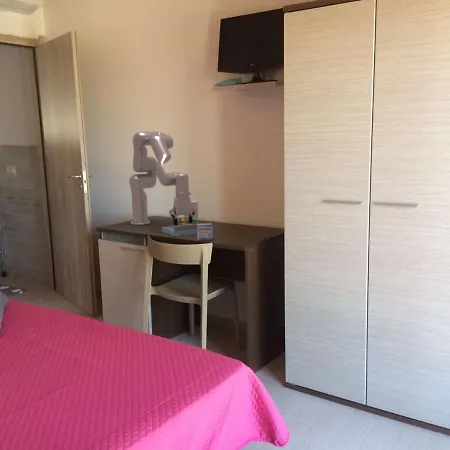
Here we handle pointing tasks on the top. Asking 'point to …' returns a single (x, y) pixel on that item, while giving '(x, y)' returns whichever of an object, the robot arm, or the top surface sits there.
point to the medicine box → (204, 231)
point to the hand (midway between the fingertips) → (183, 224)
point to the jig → (180, 230)
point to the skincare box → (195, 216)
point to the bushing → (182, 221)
